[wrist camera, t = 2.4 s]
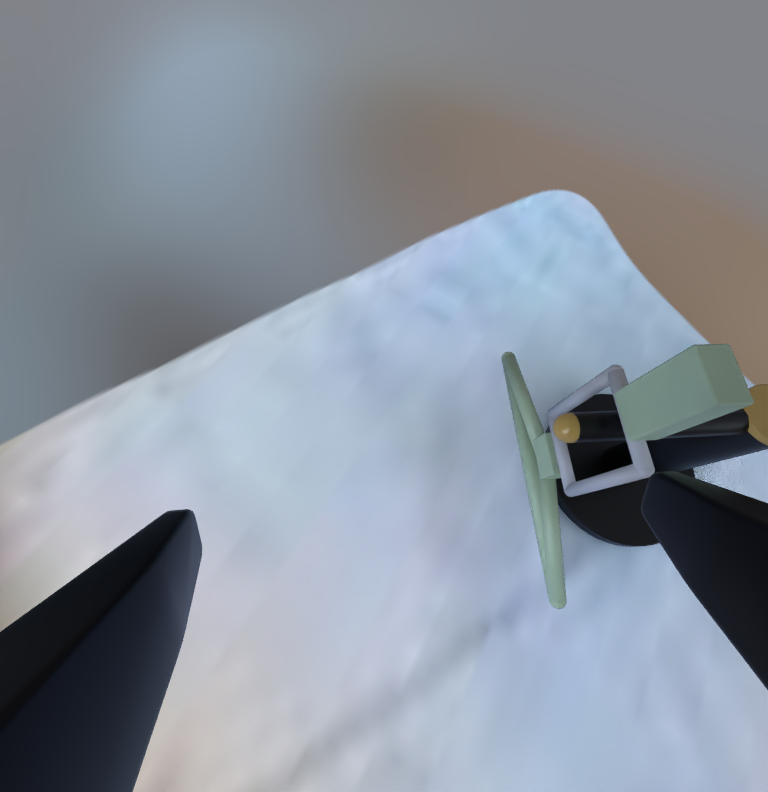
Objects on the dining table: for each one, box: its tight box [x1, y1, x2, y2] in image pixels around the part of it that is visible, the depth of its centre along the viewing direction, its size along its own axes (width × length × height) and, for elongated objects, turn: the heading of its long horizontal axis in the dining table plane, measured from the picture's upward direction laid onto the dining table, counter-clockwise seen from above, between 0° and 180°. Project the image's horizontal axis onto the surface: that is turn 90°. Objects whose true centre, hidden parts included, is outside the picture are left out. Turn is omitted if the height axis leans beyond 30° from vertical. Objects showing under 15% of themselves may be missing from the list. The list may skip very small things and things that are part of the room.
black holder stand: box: [546, 384, 768, 546], centre depth 18 cm, size 8×12×9 cm
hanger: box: [502, 344, 754, 609], centre depth 15 cm, size 1×12×11 cm, turn 3°
